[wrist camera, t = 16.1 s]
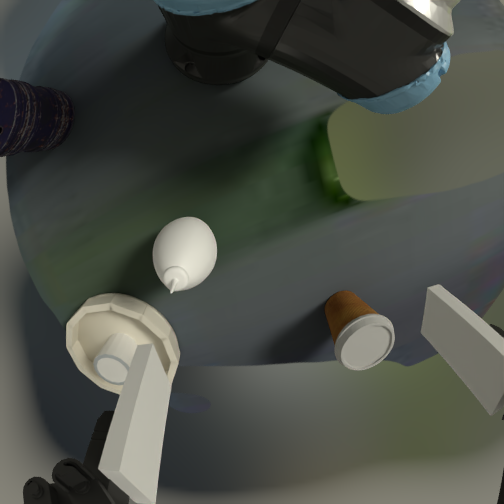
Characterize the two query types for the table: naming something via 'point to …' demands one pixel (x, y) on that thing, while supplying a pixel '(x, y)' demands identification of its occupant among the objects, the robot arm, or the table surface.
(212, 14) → the robot arm
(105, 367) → the shot glass
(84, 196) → the table surface
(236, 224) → the table surface
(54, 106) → the storage jar
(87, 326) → the cream bowl
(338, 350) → the disposable coffee cup
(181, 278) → the sauce bottle
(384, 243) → the table surface
